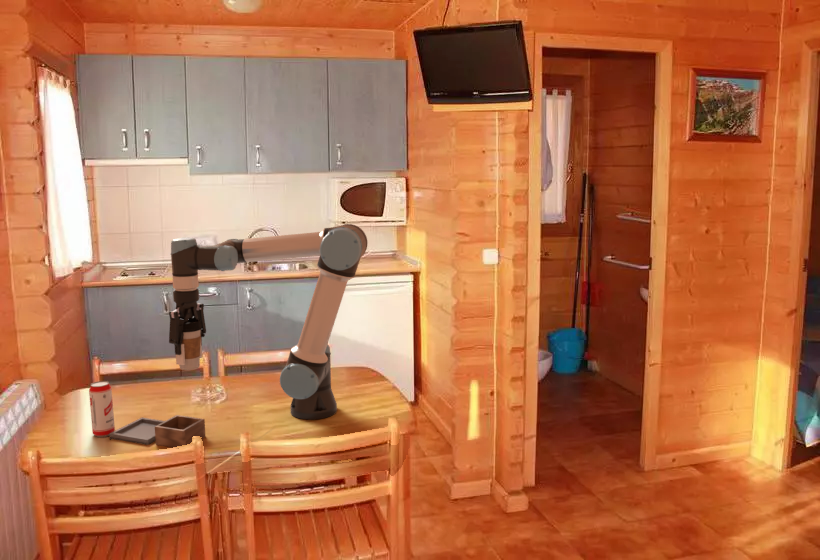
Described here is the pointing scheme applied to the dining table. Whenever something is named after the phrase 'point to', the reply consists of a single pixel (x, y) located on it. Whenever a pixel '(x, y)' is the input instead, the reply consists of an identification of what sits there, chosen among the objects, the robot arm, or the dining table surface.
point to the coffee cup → (191, 345)
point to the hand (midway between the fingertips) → (189, 360)
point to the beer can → (101, 408)
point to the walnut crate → (179, 431)
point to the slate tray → (137, 431)
